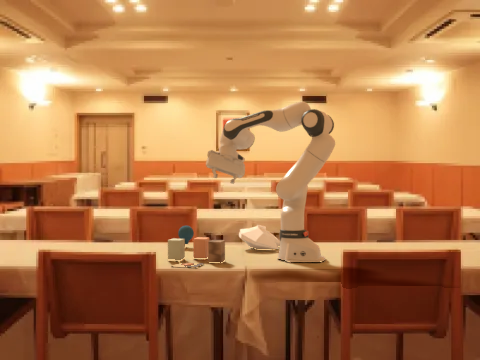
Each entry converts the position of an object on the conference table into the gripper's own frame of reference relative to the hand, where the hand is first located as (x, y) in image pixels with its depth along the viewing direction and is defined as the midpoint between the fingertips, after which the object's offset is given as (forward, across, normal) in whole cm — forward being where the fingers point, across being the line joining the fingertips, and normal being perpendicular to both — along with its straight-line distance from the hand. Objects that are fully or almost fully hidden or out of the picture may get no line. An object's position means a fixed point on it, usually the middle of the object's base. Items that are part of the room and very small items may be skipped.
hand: (223, 180), depth 265 cm
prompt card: (+46, -11, +2) cm, 47 cm away
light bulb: (+22, +4, +46) cm, 51 cm away
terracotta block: (+37, 0, +14) cm, 39 cm away
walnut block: (+41, +3, +2) cm, 41 cm away
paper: (+20, +37, +22) cm, 48 cm away
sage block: (+40, -12, +16) cm, 45 cm away
